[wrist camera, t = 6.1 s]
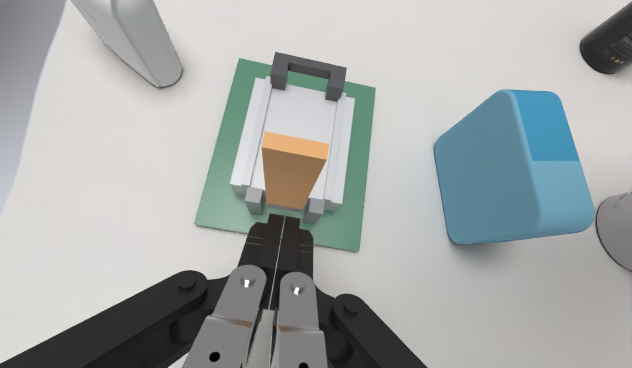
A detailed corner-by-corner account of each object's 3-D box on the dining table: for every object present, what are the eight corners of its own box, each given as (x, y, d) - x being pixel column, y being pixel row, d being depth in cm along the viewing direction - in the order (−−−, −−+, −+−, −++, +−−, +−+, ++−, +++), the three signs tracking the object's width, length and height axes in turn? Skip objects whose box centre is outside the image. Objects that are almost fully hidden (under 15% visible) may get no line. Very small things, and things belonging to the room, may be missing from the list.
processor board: (356, 251, 30) (379, 246, 24) (196, 225, 29) (174, 212, 22) (372, 92, 36) (395, 53, 29) (240, 64, 34) (232, 16, 28)
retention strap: (300, 214, 25) (326, 163, 13) (266, 208, 25) (260, 151, 13) (303, 200, 26) (329, 139, 14) (268, 194, 25) (265, 127, 13)
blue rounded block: (486, 244, 32) (603, 229, 21) (448, 245, 32) (547, 231, 20) (466, 143, 36) (557, 83, 24) (431, 142, 35) (508, 80, 24)
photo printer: (93, 37, 33) (-7, -94, 21) (126, 16, 34) (48, -118, 22) (160, 96, 32) (94, -7, 20) (191, 72, 33) (146, -37, 21)
